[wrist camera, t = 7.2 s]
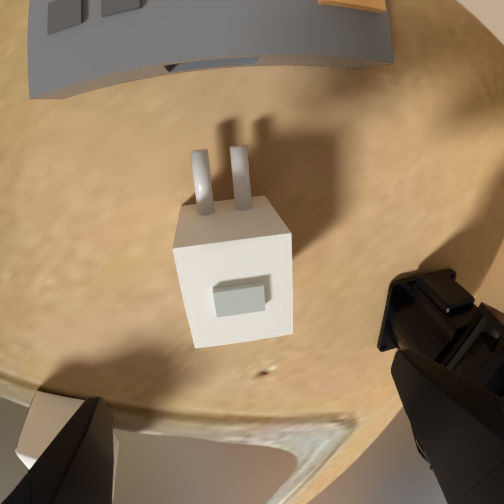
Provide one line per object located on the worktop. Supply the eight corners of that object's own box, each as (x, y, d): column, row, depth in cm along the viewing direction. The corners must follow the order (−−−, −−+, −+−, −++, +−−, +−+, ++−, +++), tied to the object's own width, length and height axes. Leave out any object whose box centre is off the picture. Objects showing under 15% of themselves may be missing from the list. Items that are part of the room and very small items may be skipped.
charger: (269, 275, 19) (294, 339, 14) (194, 286, 19) (195, 354, 13) (260, 140, 16) (291, 156, 10) (173, 150, 15) (157, 171, 10)
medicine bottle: (35, 388, 21) (-1, 501, 10) (107, 402, 22) (89, 530, 11) (56, 431, 24) (36, 528, 13) (119, 442, 25) (112, 548, 14)
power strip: (359, 68, 14) (401, 62, 11) (61, 99, 13) (23, 99, 9) (349, -23, 12) (384, -47, 8) (58, 3, 10) (25, -18, 6)
